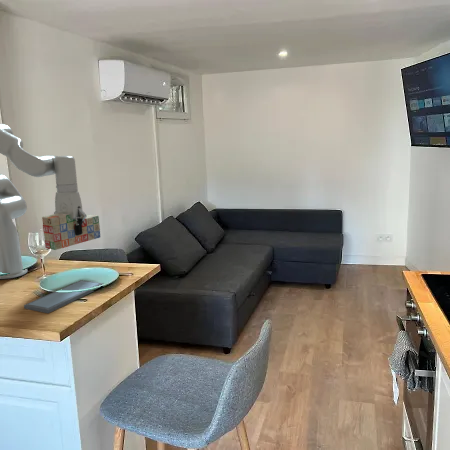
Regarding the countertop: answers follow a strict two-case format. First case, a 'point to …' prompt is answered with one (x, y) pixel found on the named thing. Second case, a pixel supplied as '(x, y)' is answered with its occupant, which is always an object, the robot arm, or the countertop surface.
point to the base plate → (61, 297)
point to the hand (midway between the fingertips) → (71, 233)
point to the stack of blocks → (68, 230)
